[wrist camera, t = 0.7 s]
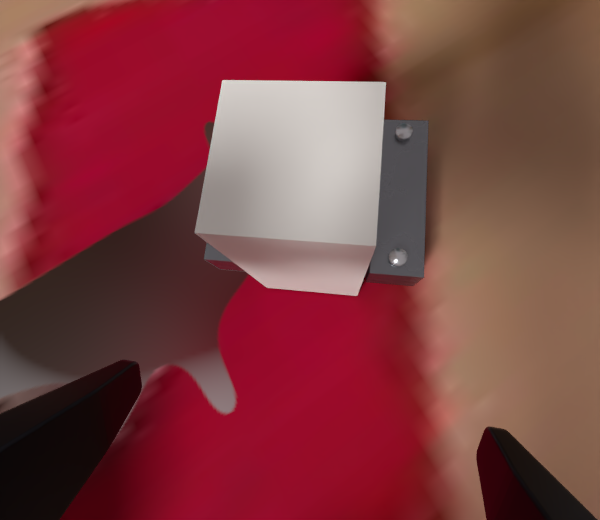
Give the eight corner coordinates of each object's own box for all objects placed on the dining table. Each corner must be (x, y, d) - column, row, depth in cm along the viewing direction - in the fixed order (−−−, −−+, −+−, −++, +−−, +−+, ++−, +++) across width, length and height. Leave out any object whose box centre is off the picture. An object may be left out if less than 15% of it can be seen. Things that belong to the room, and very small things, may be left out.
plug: (357, 295, 23) (376, 245, 11) (266, 287, 23) (194, 232, 12) (364, 192, 24) (387, 53, 12) (279, 188, 25) (227, 53, 13)
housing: (412, 286, 22) (425, 276, 19) (220, 269, 24) (201, 257, 21) (418, 146, 25) (430, 116, 21) (240, 140, 26) (226, 111, 23)
